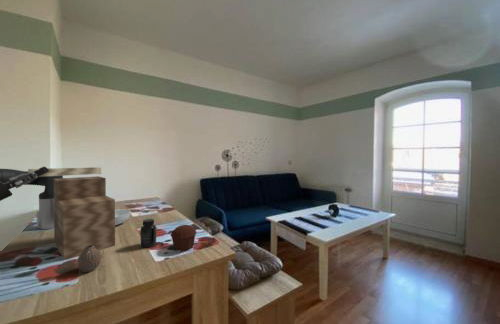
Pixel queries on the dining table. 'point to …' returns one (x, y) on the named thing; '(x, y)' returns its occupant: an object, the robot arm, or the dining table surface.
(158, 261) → the dining table surface
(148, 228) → the supplement bottle
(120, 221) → the serving bowl
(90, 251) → the brown egg-shaped lump
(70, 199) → the walnut stand
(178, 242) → the muffin
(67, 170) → the birch rod
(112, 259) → the dining table surface
